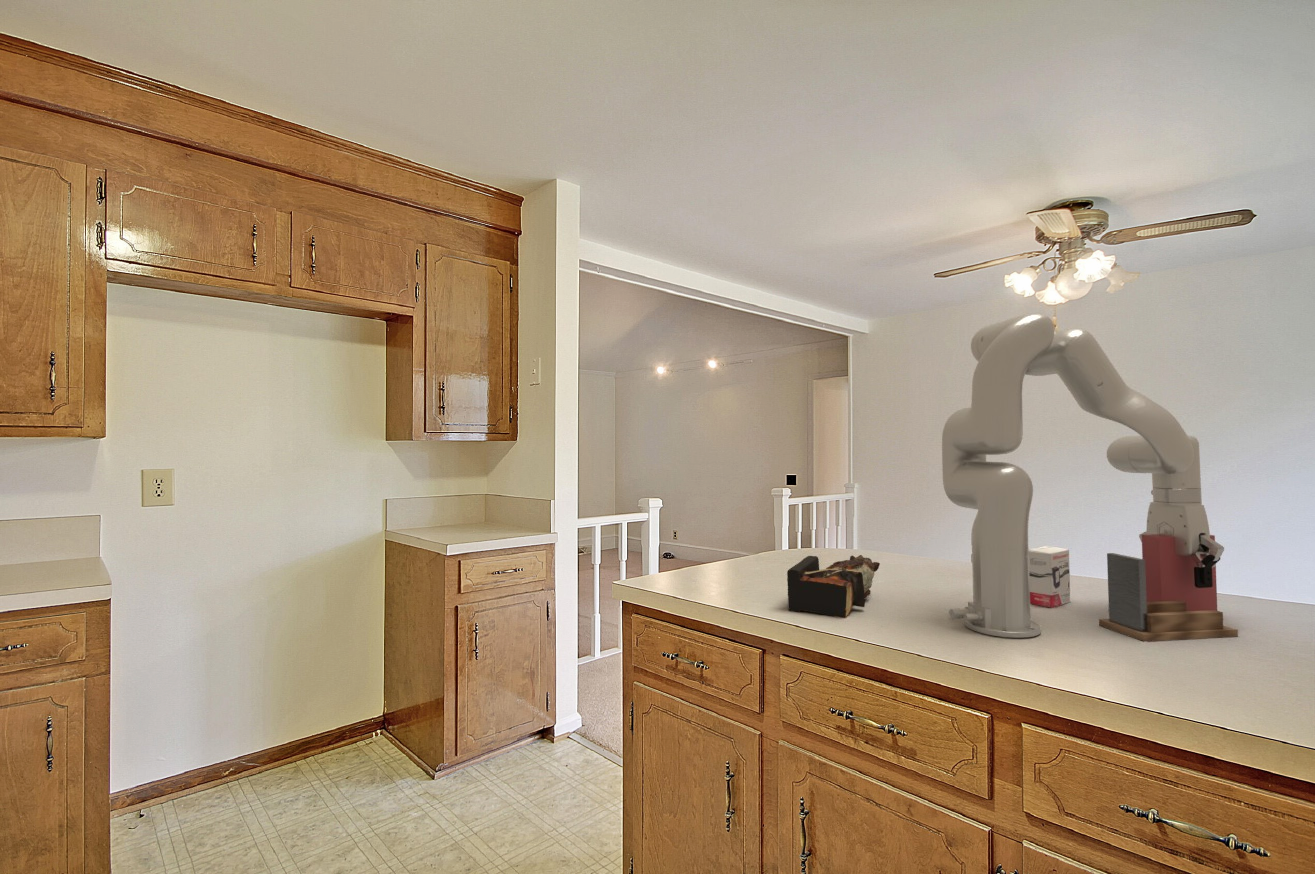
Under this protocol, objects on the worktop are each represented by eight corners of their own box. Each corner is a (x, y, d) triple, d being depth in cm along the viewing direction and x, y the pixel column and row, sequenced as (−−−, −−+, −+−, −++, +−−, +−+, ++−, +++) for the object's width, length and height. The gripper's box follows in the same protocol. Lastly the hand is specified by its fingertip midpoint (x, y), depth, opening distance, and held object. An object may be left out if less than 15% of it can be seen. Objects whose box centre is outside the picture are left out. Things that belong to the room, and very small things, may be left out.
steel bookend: (1141, 638, 111) (1138, 559, 111) (1109, 627, 118) (1106, 553, 118) (1147, 638, 111) (1145, 559, 111) (1115, 627, 118) (1112, 552, 118)
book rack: (1144, 641, 109) (1143, 617, 109) (1099, 625, 119) (1098, 603, 119) (1238, 636, 111) (1237, 612, 111) (1185, 620, 121) (1184, 599, 121)
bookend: (784, 570, 134) (818, 541, 155) (789, 620, 135) (822, 584, 156) (854, 574, 126) (880, 543, 147) (858, 627, 127) (883, 588, 148)
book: (1161, 619, 123) (1159, 537, 123) (1144, 613, 127) (1141, 534, 127) (1217, 616, 124) (1214, 535, 124) (1198, 610, 128) (1195, 532, 128)
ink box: (1052, 608, 132) (1050, 552, 132) (1028, 603, 136) (1026, 549, 136) (1071, 602, 137) (1069, 548, 137) (1047, 597, 141) (1045, 545, 141)
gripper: (1123, 494, 134) (1126, 574, 134) (1200, 501, 117) (1205, 592, 116) (1155, 492, 135) (1159, 572, 134) (1237, 499, 117) (1241, 590, 117)
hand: (1180, 581), depth 125 cm, fingers open, 9 cm apart
